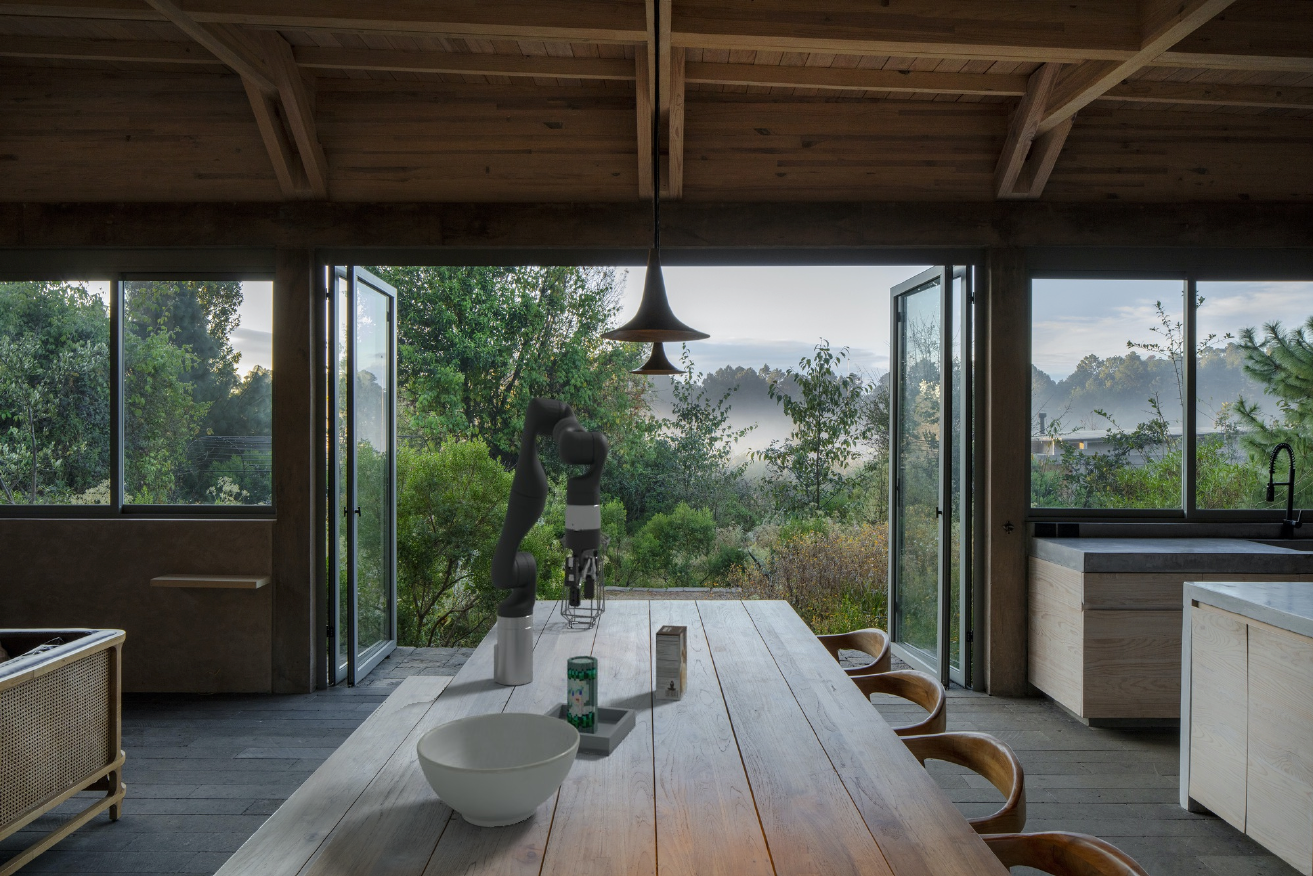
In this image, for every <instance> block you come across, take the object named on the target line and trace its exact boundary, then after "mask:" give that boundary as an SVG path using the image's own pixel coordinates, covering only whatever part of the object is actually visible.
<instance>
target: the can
mask: <svg viewBox="0 0 1313 876" xmlns="http://www.w3.org/2000/svg"><path fill="white" fill-rule="evenodd" d="M598 661H599V660H598V658H597V657H595V656H592V655H579V656H578V655H577V656H571V657H569V658H568V659H566V662H567V663H566V666H567V667H566V669H567V670H566V677H567V678H566V679H567V680H566V681H567V682H566V685H567V686H566V688H567V689H566V690H567V692H566V694H567V695H566V700H567V701H566V703H567V722H568V723H569V724H571V725H572V726H574V727H575V728H576V729H577V730H578V732H579V733H589V734H595V733H596V732H597V731H598V706H599V705H598V703H599V700H598V699H599V698H598V695H599V692H598V690H599V688H598V687H599V686H598V685H599V681H598V672H599V670H598V669H599V668H598V666H599V665H598V664H599V662H598Z"/></svg>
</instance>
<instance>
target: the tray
mask: <svg viewBox="0 0 1313 876" xmlns="http://www.w3.org/2000/svg"><path fill="white" fill-rule="evenodd" d="M636 710H637V709H633V708H621V707H611V706H601V705H598V731H597V732H596V733H595V734H589V733H579V735H580V742H579V747H578V751H577V753H582V754H590V755H592V754H593V755H599V754H602V755H601V756H608V755H610V756H611V755H612V753H613V752H614V751H615V750H616V749H617V747H619V745H620V744H621V743H622V742H623V741H624V740H625V738H626V737H628V735H629V734H630V733H631V732H632V730H634V729H635V728H636V725H637V723H636V721H637V720H636V718H637V711H636ZM543 715H546V716H550V717H554V718H558V719H561V720H563V721H566V722H567V702H558V703H556V704H555V705H554V706H553V707H551V708H549V710H547V711H546V712H545V713H544V714H543ZM629 732H630V733H629ZM622 740H623V741H622ZM615 748H616V749H615Z"/></svg>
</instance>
